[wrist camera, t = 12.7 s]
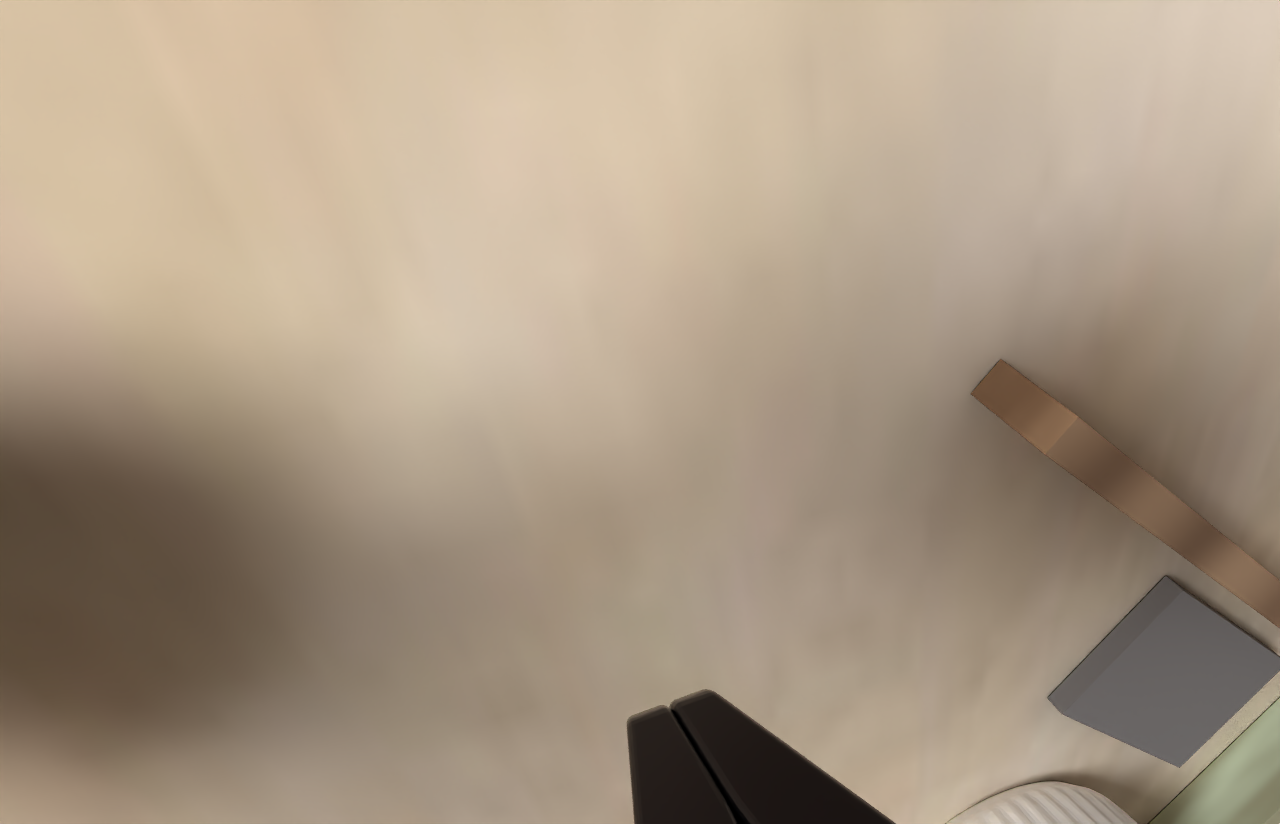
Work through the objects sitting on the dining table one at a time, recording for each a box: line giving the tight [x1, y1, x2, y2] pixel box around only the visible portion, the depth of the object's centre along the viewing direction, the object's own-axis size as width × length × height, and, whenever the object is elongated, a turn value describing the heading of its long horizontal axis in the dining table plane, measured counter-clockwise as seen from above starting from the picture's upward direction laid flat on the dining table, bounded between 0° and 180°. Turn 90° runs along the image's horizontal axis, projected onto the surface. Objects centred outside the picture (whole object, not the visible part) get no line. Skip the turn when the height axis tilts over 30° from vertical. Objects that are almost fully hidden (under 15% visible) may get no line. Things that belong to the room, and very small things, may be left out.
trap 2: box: [1048, 576, 1280, 768], centre depth 40 cm, size 10×6×1 cm, turn 50°
